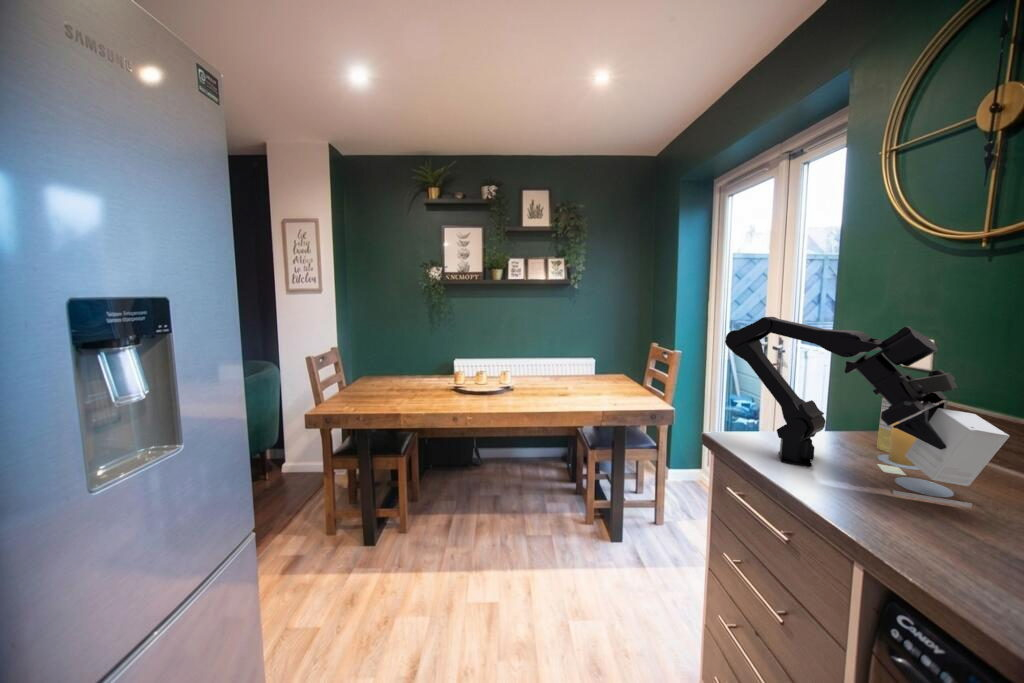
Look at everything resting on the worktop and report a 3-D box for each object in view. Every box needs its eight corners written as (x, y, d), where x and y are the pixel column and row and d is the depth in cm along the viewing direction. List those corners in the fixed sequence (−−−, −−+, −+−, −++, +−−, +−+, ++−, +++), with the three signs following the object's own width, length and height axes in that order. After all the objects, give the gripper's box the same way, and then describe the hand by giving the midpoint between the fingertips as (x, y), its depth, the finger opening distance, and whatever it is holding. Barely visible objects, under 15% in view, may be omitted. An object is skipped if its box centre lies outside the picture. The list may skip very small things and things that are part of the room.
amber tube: (892, 463, 99) (897, 415, 98) (884, 456, 104) (889, 410, 102) (920, 467, 97) (926, 418, 95) (911, 459, 101) (917, 412, 100)
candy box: (900, 449, 111) (906, 395, 109) (918, 455, 107) (925, 399, 105) (875, 452, 109) (880, 397, 108) (892, 459, 105) (899, 401, 103)
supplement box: (970, 487, 79) (1013, 436, 73) (930, 480, 79) (970, 429, 74) (939, 461, 85) (976, 413, 80) (902, 455, 86) (937, 406, 80)
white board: (893, 495, 86) (894, 489, 86) (859, 454, 108) (859, 449, 108) (972, 509, 81) (973, 502, 81) (919, 463, 102) (920, 458, 102)
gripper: (910, 361, 78) (987, 434, 70) (939, 353, 87) (1010, 416, 79) (854, 391, 85) (918, 460, 78) (887, 381, 95) (946, 441, 87)
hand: (950, 443), depth 80 cm, fingers closed on supplement box, 9 cm apart
